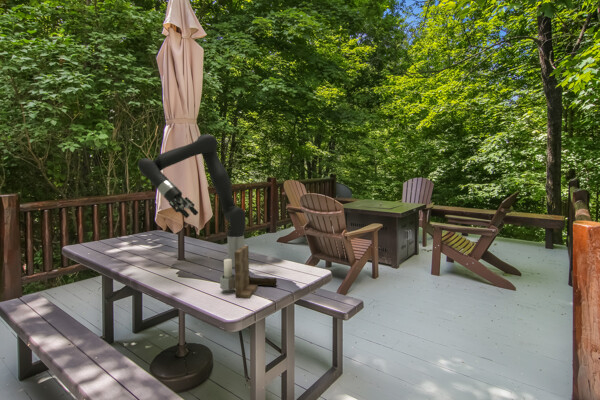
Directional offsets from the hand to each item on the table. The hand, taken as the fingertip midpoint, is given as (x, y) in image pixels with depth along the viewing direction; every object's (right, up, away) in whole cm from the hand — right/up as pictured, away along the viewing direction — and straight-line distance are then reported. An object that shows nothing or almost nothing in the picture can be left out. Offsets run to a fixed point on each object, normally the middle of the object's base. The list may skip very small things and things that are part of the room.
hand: (192, 215), depth 163 cm
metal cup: (+21, -32, -11) cm, 39 cm away
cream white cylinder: (+19, -31, -10) cm, 38 cm away
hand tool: (+31, -34, -3) cm, 46 cm away
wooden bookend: (+28, -34, -12) cm, 46 cm away
